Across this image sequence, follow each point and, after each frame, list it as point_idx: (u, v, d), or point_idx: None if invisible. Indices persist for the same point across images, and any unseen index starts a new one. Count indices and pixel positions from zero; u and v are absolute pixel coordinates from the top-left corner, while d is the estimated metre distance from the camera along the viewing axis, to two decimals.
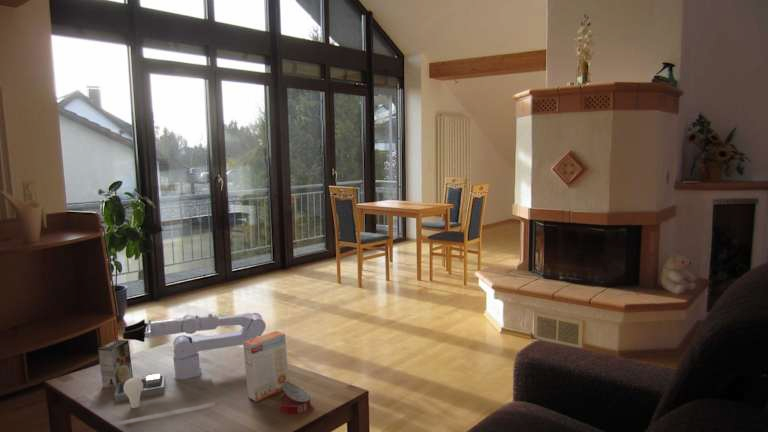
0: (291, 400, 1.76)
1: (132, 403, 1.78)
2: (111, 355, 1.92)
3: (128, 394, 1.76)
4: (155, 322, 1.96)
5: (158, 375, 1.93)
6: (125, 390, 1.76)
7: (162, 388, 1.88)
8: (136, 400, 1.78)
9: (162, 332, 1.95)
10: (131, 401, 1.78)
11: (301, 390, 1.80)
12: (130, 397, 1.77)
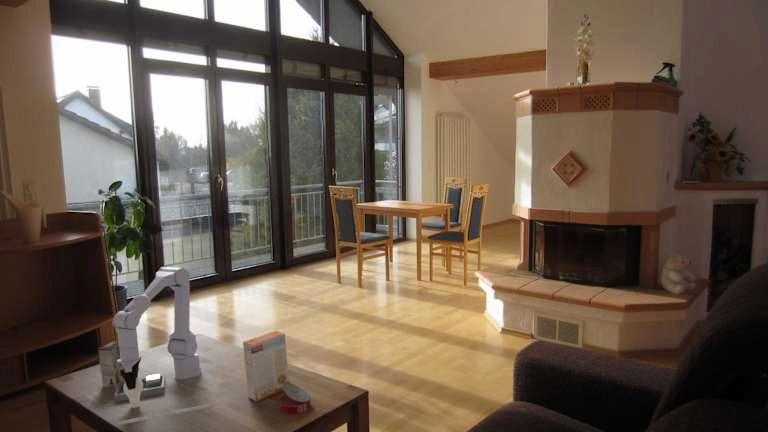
0: (291, 400, 1.76)
1: (132, 403, 1.78)
2: (111, 355, 1.92)
3: (128, 394, 1.76)
4: (120, 356, 1.75)
5: (158, 375, 1.93)
6: (125, 390, 1.76)
7: (162, 388, 1.88)
8: (136, 400, 1.78)
9: (131, 349, 1.74)
10: (131, 401, 1.78)
11: (301, 390, 1.80)
12: (130, 397, 1.77)
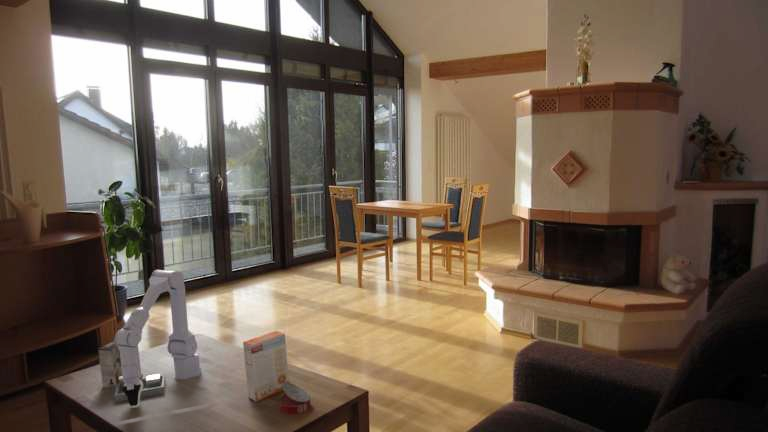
0: (291, 400, 1.76)
1: None
2: (111, 355, 1.92)
3: None
4: (122, 373, 1.76)
5: (158, 375, 1.93)
6: None
7: (162, 388, 1.88)
8: None
9: (133, 367, 1.75)
10: None
11: (301, 390, 1.80)
12: None
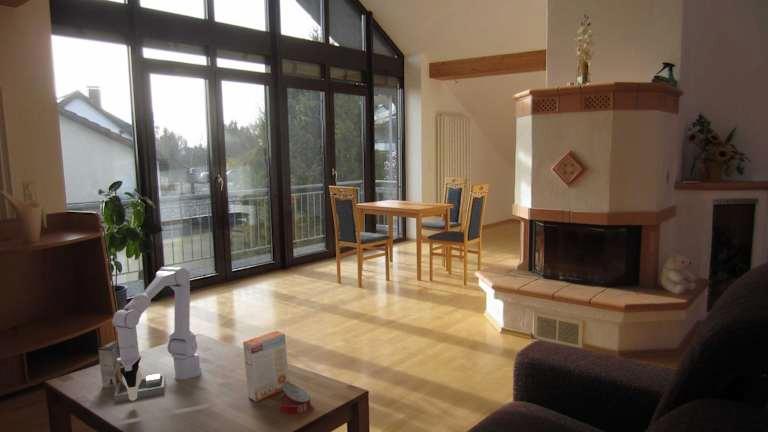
0: (291, 400, 1.76)
1: (130, 394, 1.77)
2: (111, 355, 1.92)
3: None
4: (120, 354, 1.75)
5: (158, 375, 1.93)
6: (125, 380, 1.75)
7: (162, 388, 1.88)
8: (135, 391, 1.77)
9: (131, 348, 1.74)
10: (129, 392, 1.77)
11: (301, 390, 1.80)
12: (129, 388, 1.76)
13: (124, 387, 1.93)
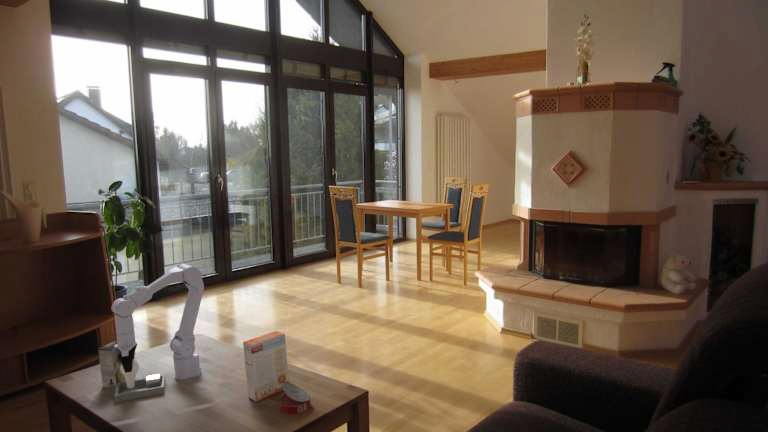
0: (291, 400, 1.76)
1: (128, 383, 1.87)
2: (111, 355, 1.92)
3: (125, 374, 1.86)
4: (117, 341, 1.85)
5: (158, 375, 1.93)
6: (122, 370, 1.85)
7: (162, 388, 1.88)
8: (132, 380, 1.88)
9: (127, 335, 1.84)
10: (127, 381, 1.87)
11: (301, 390, 1.80)
12: (127, 377, 1.86)
13: (124, 387, 1.93)
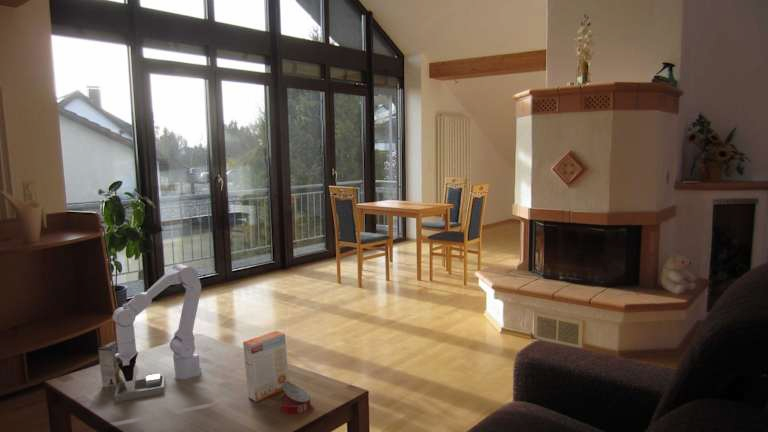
0: (291, 400, 1.76)
1: (128, 387, 1.87)
2: (111, 355, 1.92)
3: (124, 378, 1.86)
4: (118, 350, 1.85)
5: (158, 375, 1.93)
6: (122, 375, 1.85)
7: (162, 388, 1.88)
8: (132, 384, 1.88)
9: (128, 344, 1.85)
10: (127, 385, 1.87)
11: (301, 390, 1.80)
12: None
13: (124, 387, 1.93)
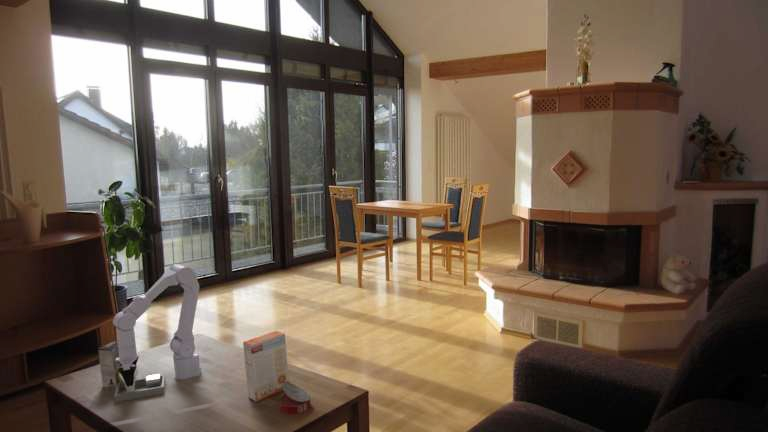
0: (291, 400, 1.76)
1: (128, 388, 1.87)
2: (111, 355, 1.92)
3: None
4: (119, 354, 1.86)
5: (158, 375, 1.93)
6: (121, 375, 1.85)
7: (162, 388, 1.88)
8: None
9: (129, 348, 1.85)
10: None
11: (301, 390, 1.80)
12: None
13: (124, 387, 1.93)
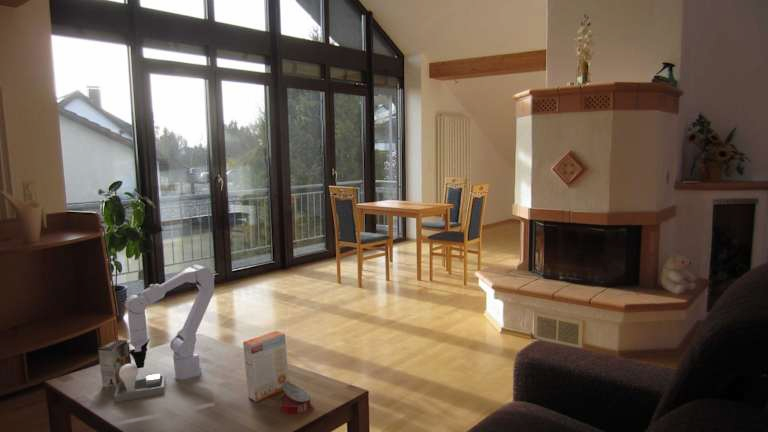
0: (291, 400, 1.76)
1: (128, 388, 1.87)
2: (111, 355, 1.92)
3: (124, 379, 1.86)
4: (130, 337, 1.89)
5: (158, 375, 1.93)
6: (121, 375, 1.85)
7: (162, 388, 1.88)
8: (132, 385, 1.88)
9: (140, 331, 1.88)
10: (127, 386, 1.87)
11: (301, 390, 1.80)
12: (126, 382, 1.86)
13: (124, 387, 1.93)
